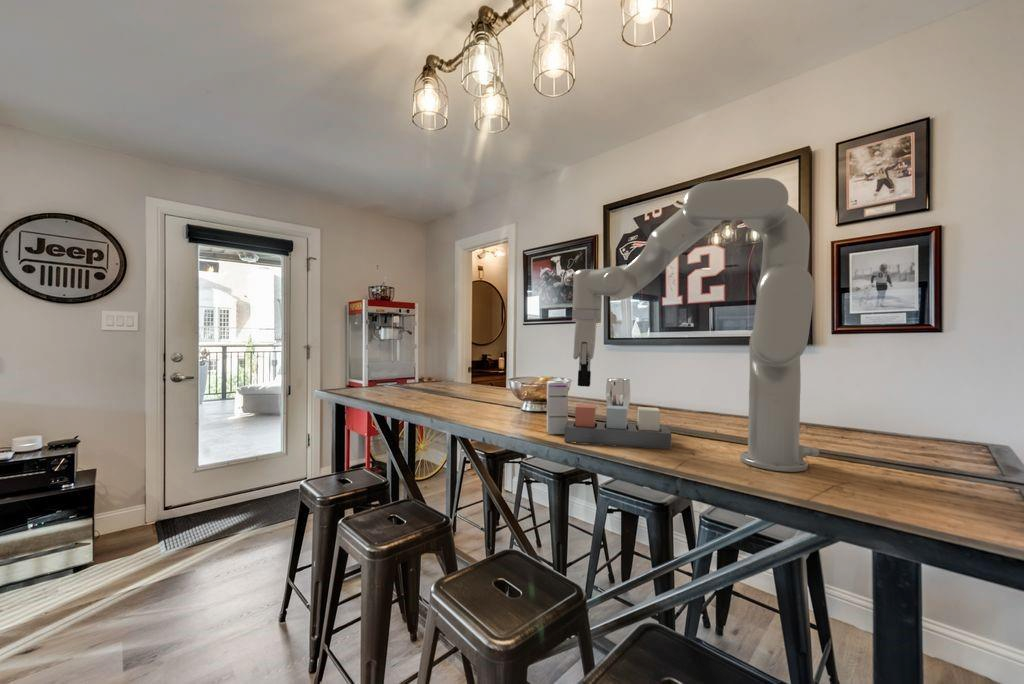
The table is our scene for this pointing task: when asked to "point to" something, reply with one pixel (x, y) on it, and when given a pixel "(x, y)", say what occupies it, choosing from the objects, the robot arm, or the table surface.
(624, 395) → the beer glass
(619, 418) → the grey cube
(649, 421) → the key ivory
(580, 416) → the key red
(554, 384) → the syrup box
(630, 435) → the grey slotted holder
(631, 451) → the table surface
